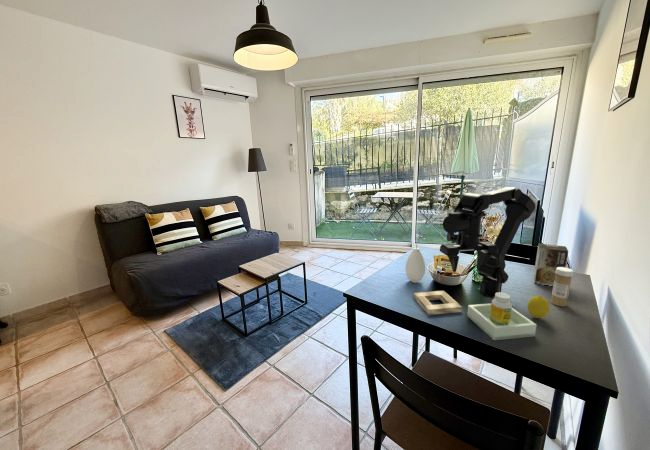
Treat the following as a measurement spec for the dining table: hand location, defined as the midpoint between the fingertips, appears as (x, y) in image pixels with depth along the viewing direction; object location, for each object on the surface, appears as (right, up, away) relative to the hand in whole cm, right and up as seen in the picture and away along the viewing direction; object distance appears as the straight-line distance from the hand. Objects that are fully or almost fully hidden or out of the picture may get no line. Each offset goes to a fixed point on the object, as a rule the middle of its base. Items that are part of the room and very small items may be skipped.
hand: (466, 271), depth 100 cm
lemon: (+19, -14, -9) cm, 25 cm away
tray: (+4, -15, -12) cm, 20 cm away
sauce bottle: (-13, -8, +19) cm, 24 cm away
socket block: (-11, -12, +1) cm, 16 cm away
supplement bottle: (+4, -15, -12) cm, 20 cm away
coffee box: (+41, -8, +15) cm, 44 cm away
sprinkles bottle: (+33, -12, -1) cm, 35 cm away
